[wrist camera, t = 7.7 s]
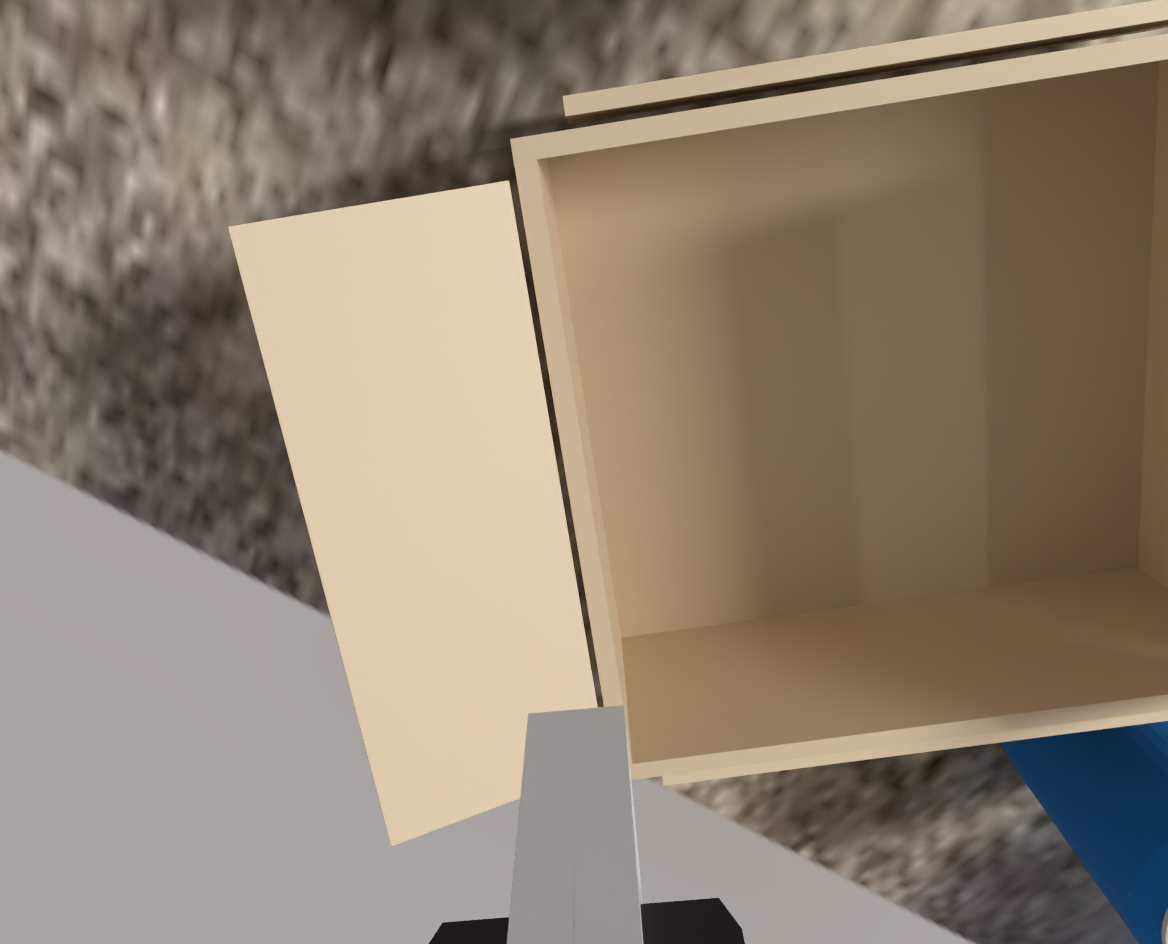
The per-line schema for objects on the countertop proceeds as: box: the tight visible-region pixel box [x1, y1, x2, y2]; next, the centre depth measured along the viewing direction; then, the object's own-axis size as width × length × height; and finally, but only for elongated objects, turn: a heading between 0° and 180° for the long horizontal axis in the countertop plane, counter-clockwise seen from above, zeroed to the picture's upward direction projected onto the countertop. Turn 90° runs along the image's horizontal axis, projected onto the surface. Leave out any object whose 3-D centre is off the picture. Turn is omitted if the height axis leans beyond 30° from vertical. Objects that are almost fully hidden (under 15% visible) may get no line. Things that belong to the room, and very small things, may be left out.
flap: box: [228, 181, 598, 846], centre depth 26 cm, size 18×1×7 cm
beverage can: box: [1001, 721, 1168, 944], centre depth 35 cm, size 6×6×12 cm
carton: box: [510, 0, 1168, 786], centre depth 31 cm, size 22×22×9 cm
